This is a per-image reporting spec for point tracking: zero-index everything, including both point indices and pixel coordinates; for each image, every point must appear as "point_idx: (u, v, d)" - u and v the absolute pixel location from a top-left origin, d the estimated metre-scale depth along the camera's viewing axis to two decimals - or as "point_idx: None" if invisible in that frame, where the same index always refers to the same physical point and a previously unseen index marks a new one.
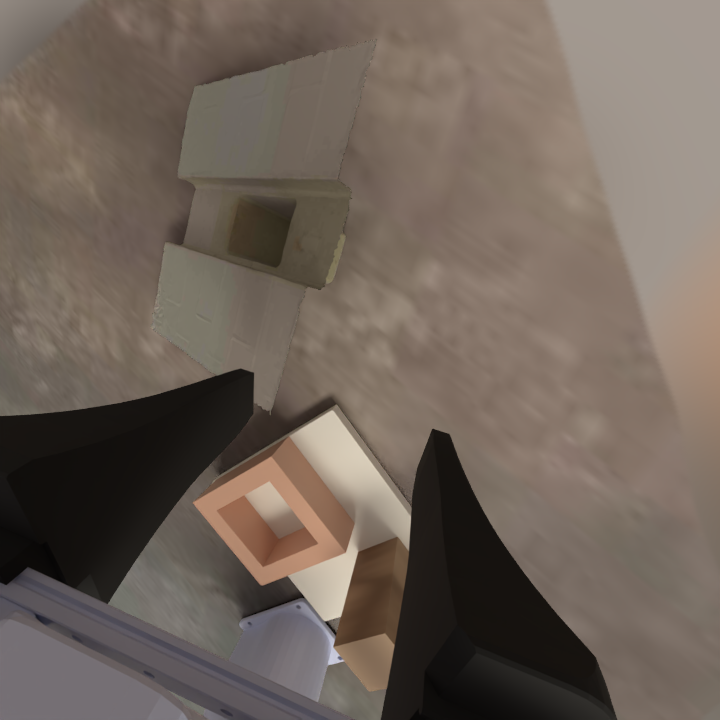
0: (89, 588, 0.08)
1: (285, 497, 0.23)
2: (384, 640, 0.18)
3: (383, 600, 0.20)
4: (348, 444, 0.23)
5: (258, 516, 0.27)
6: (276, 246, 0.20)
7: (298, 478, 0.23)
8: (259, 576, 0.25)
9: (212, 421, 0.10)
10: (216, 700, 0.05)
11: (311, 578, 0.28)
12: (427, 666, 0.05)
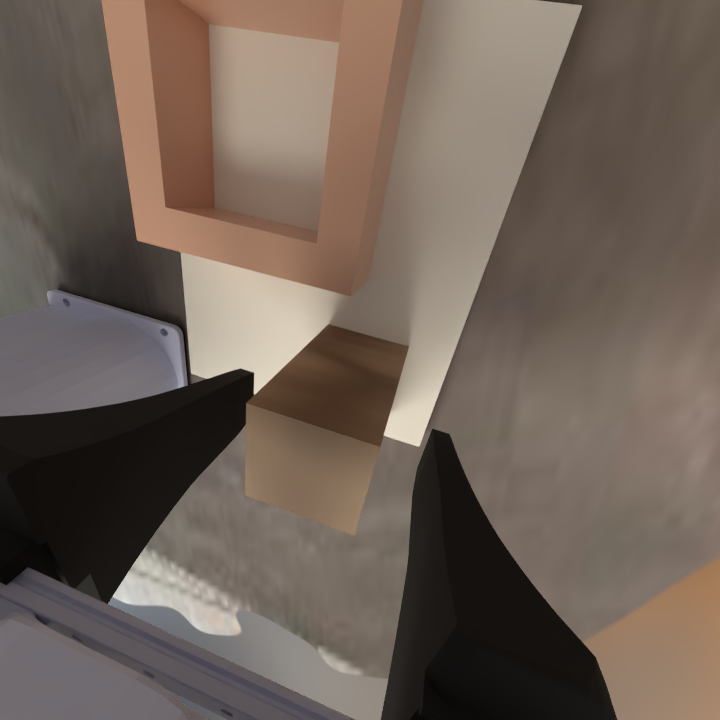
0: (89, 588, 0.08)
1: (341, 82, 0.09)
2: (362, 455, 0.09)
3: (377, 401, 0.10)
4: (515, 126, 0.10)
5: (209, 130, 0.12)
6: None
7: (395, 76, 0.09)
8: (145, 219, 0.12)
9: (212, 421, 0.10)
10: (216, 700, 0.05)
11: (220, 309, 0.16)
12: (427, 666, 0.05)
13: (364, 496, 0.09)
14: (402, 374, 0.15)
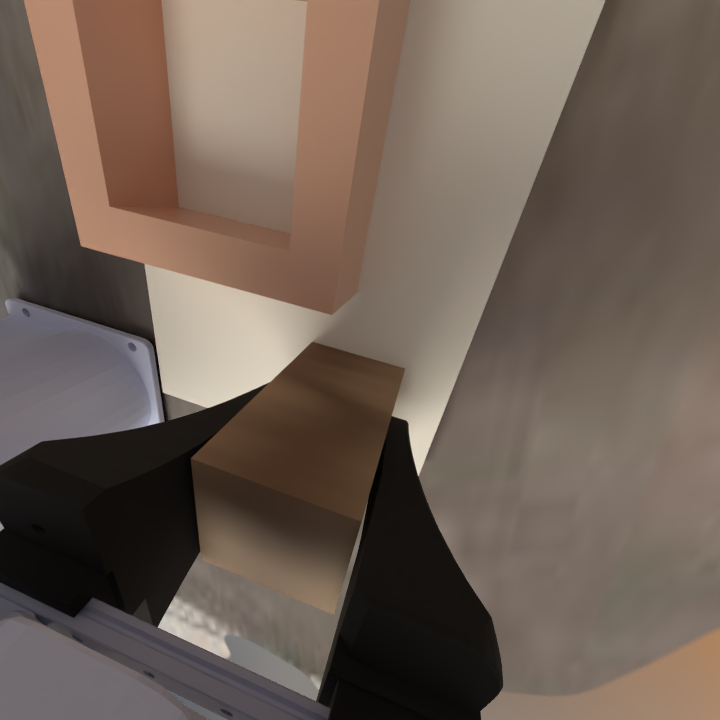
0: (143, 613, 0.07)
1: (313, 43, 0.07)
2: (339, 529, 0.07)
3: (362, 447, 0.08)
4: (536, 105, 0.08)
5: (166, 115, 0.11)
6: None
7: (384, 36, 0.07)
8: (88, 221, 0.10)
9: None
10: (216, 700, 0.05)
11: (191, 322, 0.14)
12: (341, 630, 0.05)
13: (343, 574, 0.07)
14: (397, 399, 0.13)
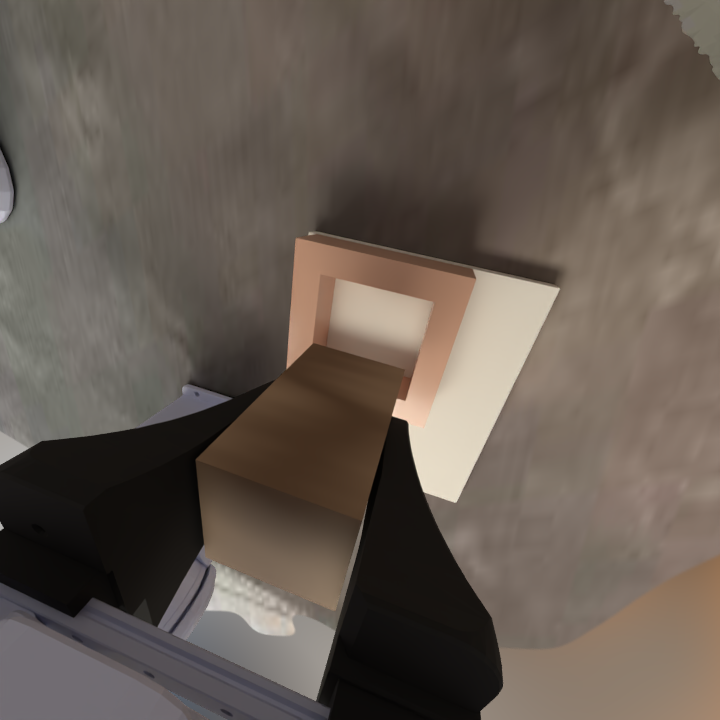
0: (143, 613, 0.07)
1: (429, 334, 0.16)
2: (340, 528, 0.07)
3: (363, 448, 0.08)
4: (523, 335, 0.18)
5: (329, 316, 0.20)
6: None
7: None
8: None
9: None
10: (216, 700, 0.05)
11: None
12: (341, 629, 0.05)
13: (345, 572, 0.08)
14: (446, 457, 0.23)
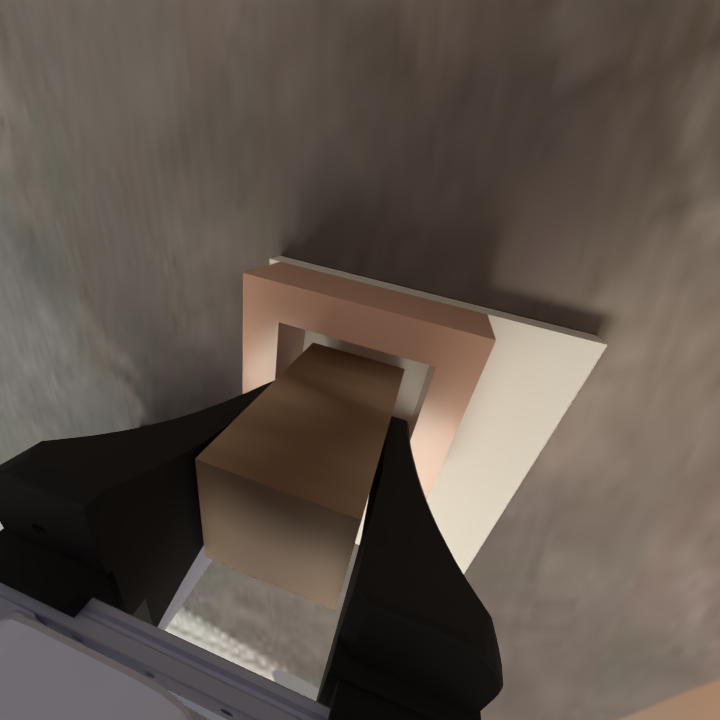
0: (143, 612, 0.07)
1: (428, 406, 0.12)
2: (340, 527, 0.07)
3: (362, 448, 0.08)
4: (553, 401, 0.13)
5: None
6: None
7: None
8: None
9: None
10: (216, 700, 0.05)
11: None
12: (342, 629, 0.05)
13: (344, 571, 0.08)
14: (448, 533, 0.18)
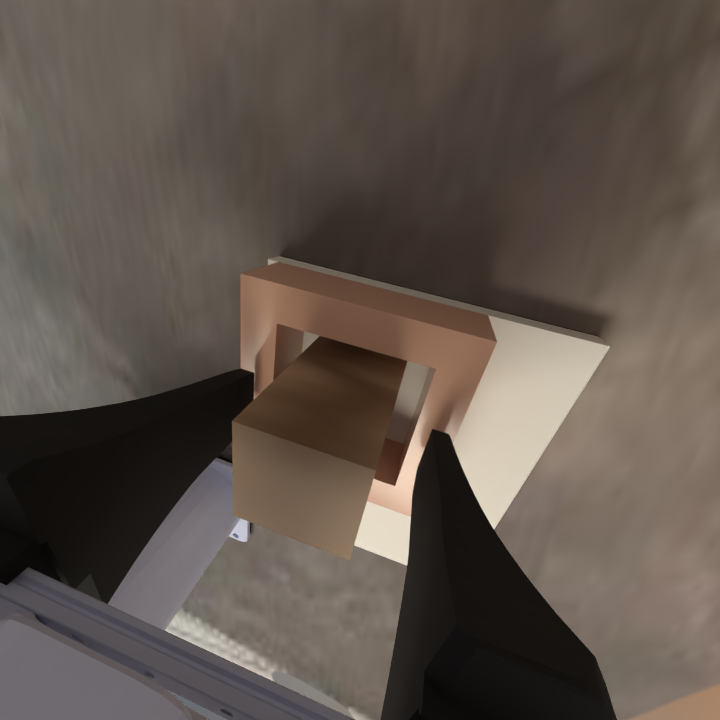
0: (89, 588, 0.08)
1: (428, 408, 0.11)
2: (357, 478, 0.08)
3: (374, 416, 0.10)
4: (554, 403, 0.13)
5: None
6: None
7: None
8: None
9: (212, 421, 0.10)
10: (216, 700, 0.05)
11: None
12: (427, 666, 0.05)
13: (359, 521, 0.09)
14: None
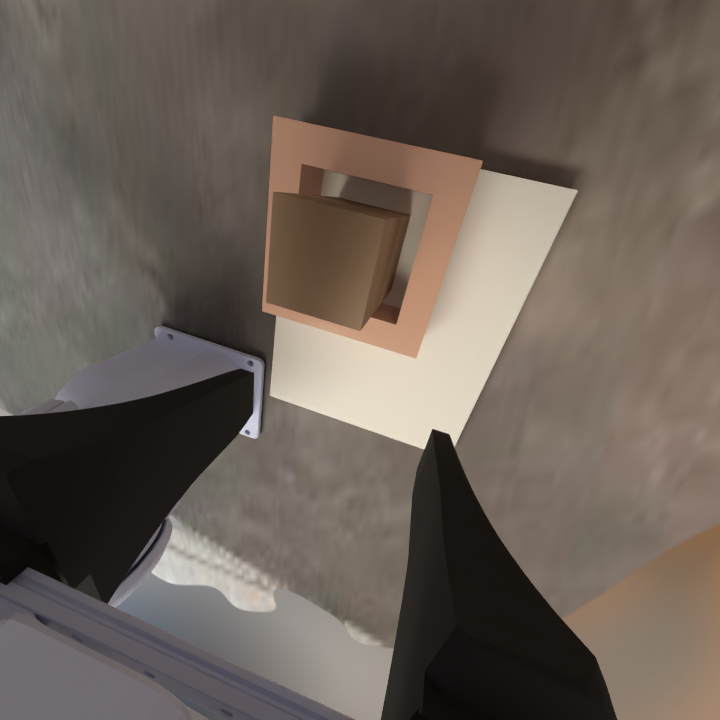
0: (89, 588, 0.08)
1: (426, 237, 0.14)
2: (370, 232, 0.10)
3: (383, 214, 0.12)
4: (532, 252, 0.15)
5: None
6: None
7: None
8: None
9: (212, 421, 0.10)
10: (216, 700, 0.05)
11: (302, 350, 0.21)
12: (427, 666, 0.05)
13: (370, 281, 0.11)
14: (440, 405, 0.20)
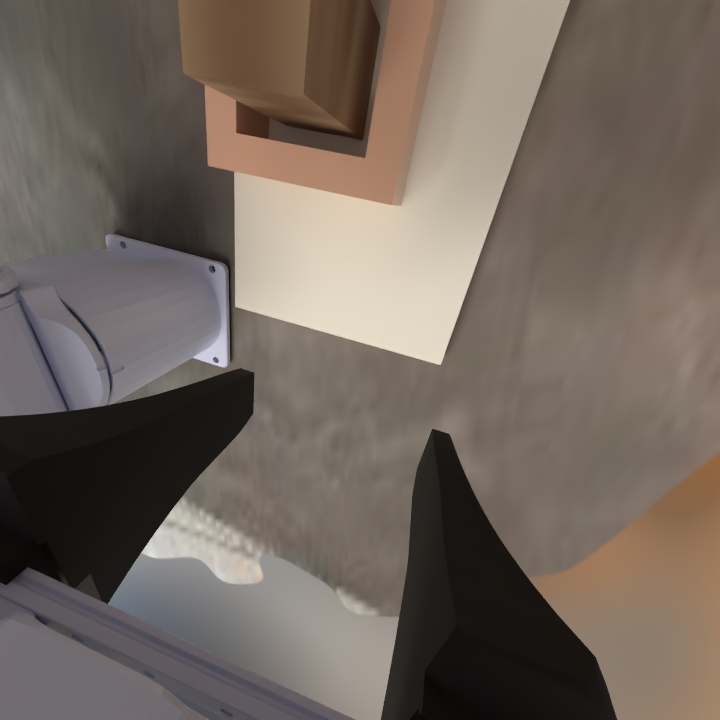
0: (89, 588, 0.08)
1: (394, 13, 0.11)
2: None
3: None
4: (531, 58, 0.12)
5: None
6: None
7: (436, 9, 0.11)
8: (217, 145, 0.14)
9: (212, 421, 0.10)
10: (216, 700, 0.05)
11: (267, 241, 0.18)
12: (427, 666, 0.05)
13: None
14: (428, 294, 0.17)
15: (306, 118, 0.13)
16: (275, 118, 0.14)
